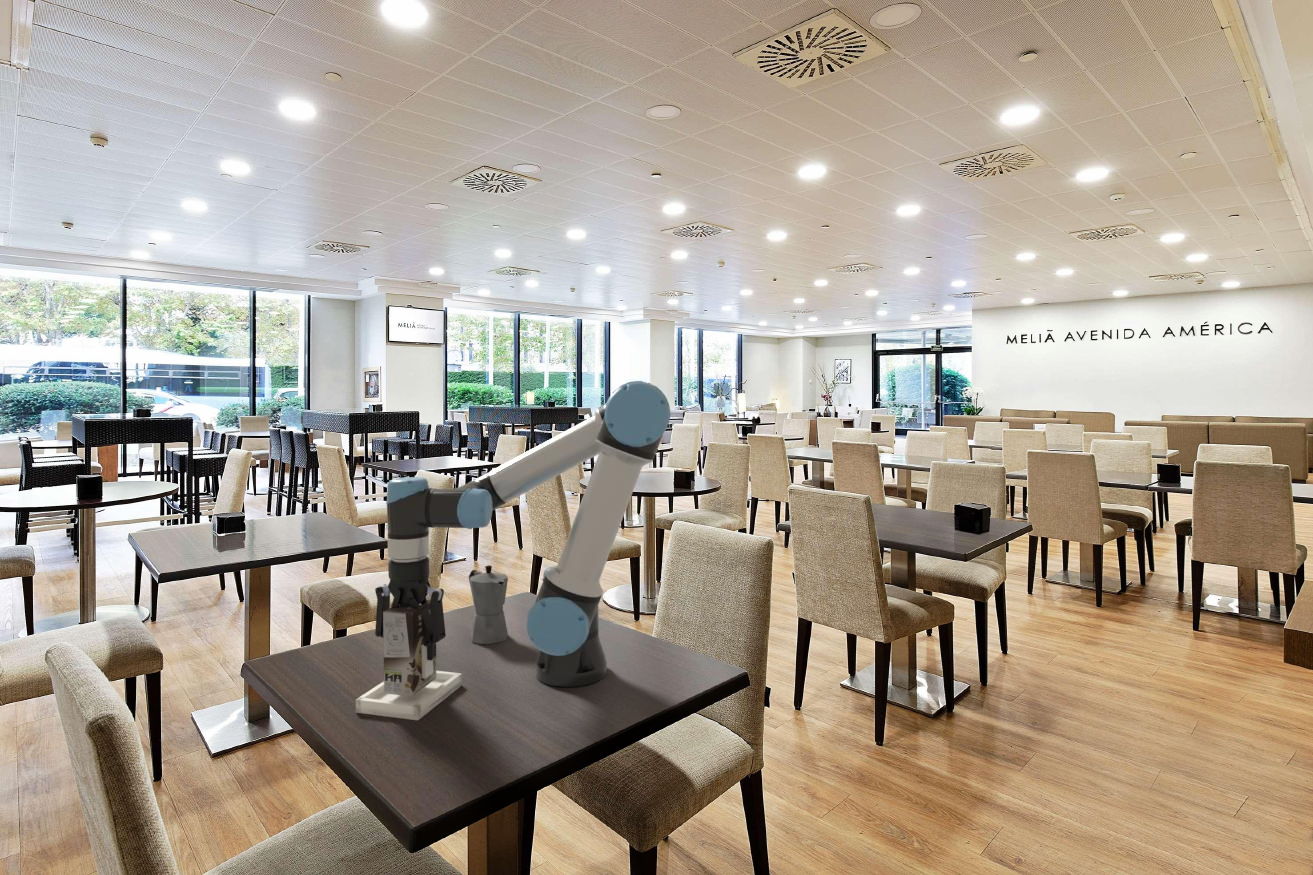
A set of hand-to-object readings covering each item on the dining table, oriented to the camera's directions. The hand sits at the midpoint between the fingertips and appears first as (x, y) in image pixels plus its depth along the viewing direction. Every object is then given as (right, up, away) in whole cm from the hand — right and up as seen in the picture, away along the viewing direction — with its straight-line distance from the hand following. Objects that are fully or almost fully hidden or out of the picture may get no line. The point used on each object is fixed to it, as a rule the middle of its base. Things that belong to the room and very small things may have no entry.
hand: (411, 673), depth 138 cm
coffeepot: (+6, -3, +35) cm, 36 cm away
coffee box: (0, -3, 0) cm, 3 cm away
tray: (0, -5, 0) cm, 5 cm away
